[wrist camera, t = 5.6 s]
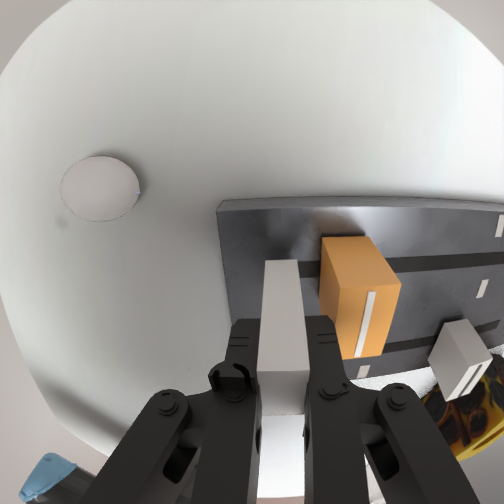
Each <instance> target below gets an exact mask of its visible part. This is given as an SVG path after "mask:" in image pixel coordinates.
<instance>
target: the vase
mask: <svg viewBox="0 0 504 504" xmlns="http://www.w3.org/2000/svg"><path fill="white" fill-rule="evenodd" d="M366 473H367V481H368V491H369V499H370V500H372V501H373V502H372V503H371V504H386V502H385V499H384V497H383V495H382V493H381V490H380V488H379V486H378V483H377V481H376V479H375V476H374V474H373V472H372V470H371V467H370V465H367V466H366Z"/></svg>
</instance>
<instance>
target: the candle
mask: <svg viewBox="0 0 504 504" xmlns="http://www.w3.org/2000/svg"><path fill="white" fill-rule="evenodd" d="M491 356H492V357H493V359H492V361H491V363H490V364H489V366H488V367H487V369H486V370H485V372H484V373H483V375H482V376H481V378H480V379H479V380H478V382H477V383H476V385H475V386H474V387H473V389H472V390H471V391H470V393H468V394H466V395H463V396H461V397H458V398H455V399H452V400H449V401H445V399H444V396H443V394H442V391H441V389H440V386H439V384H437V385H436V386H435V387H434V389H433V390H432V391H431V392H430V393H429V394H427V395H426V396H425V397H424V398H422V399H421V402H422V403H423V405H424V406H425V408H426V410H427V411H428V413H429V414H430V416H431V417H432V419H433V421H434V422H435V424H436V425H437V427H438V429H439V430H440V432H441V434H442V435H443V437H444V439H445V440H446V442H447V444H448V445H449V447H450V449H451V450H452V452H453V454H454V456H455V457H456V459H457V461H458V462H459V461H461V460H464V459H466V458H469V457H471V456H473V455H476V454H478V453H479V452H481V451H482V450H483V449H485V448H486V447H488V446H489V445H490V444H492V443H493V442H494V441H496V440H497V439H498V438H499V437H501V436H502V435H503V434H504V358H503V357H502V356H500V355H497V354H494V355H493V354H491Z"/></svg>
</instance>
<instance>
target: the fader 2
mask: <svg viewBox="0 0 504 504" xmlns="http://www.w3.org/2000/svg"><path fill="white" fill-rule="evenodd" d="M492 359H493V357H492V356H491V354H490V352H489V351H488V349H487V348H486V346H485V344H484V343H483V341H482V340H481V338H480V337H479V335H478V334H477V332H476V331H475V329H474V328H473V326H472V325H471V323H470V322H469V321H468V319H463V320H458V321H453V322H448V323H444V325H443V327H442V330H441V332H440V334H439V336H438V339H437V341H436V343H435V345H434V347H433V350H432V352H431V354H430V356H429V358H428V362H429V364H430V366H431V368H432V370H433V373H434V375H435V377H436V379H437V382H438V384H439V386H440V389H441V391H442V394H443V396H444V399H445V401H449V400H452V399H455V398H458V397H461V396H463V395H466V394H468V393H470V391H471V390H472V389H473V387H474V386H475V385H476V383H477V382H478V380H479V379H480V378H481V376H482V375H483V373H484V372H485V370H486V369H487V367H488V366H489V364H490V363H491V361H492Z"/></svg>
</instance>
